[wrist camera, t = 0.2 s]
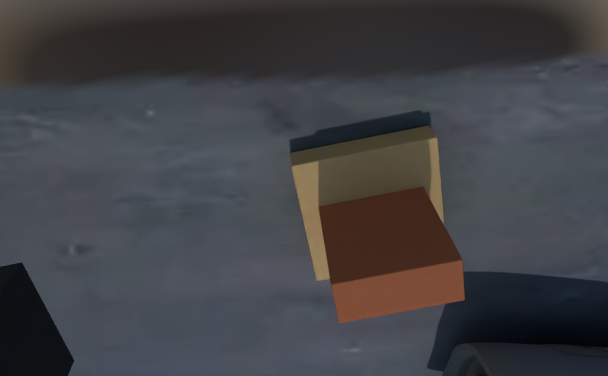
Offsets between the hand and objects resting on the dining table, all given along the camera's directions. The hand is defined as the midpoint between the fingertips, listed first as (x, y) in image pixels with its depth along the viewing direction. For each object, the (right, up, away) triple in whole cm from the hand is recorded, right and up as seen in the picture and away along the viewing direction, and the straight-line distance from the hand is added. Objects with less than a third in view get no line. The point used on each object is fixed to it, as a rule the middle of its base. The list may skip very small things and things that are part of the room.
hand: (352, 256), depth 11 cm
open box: (+3, +1, +22) cm, 22 cm away
